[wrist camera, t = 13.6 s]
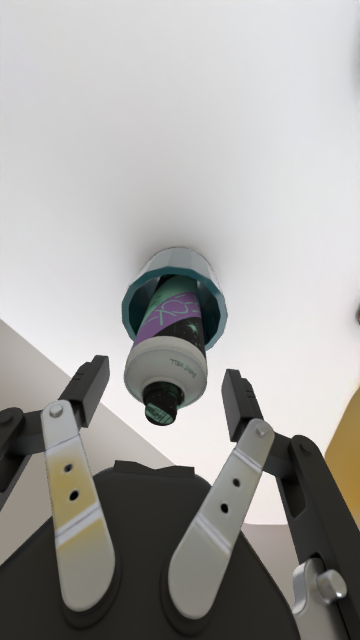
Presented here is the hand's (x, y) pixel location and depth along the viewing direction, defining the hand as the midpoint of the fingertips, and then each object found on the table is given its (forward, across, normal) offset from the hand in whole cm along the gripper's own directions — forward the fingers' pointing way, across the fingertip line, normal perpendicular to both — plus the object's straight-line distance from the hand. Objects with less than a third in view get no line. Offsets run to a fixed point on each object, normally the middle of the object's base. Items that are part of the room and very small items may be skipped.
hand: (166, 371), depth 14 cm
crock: (+17, 0, 0) cm, 17 cm away
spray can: (+17, 0, 0) cm, 17 cm away
